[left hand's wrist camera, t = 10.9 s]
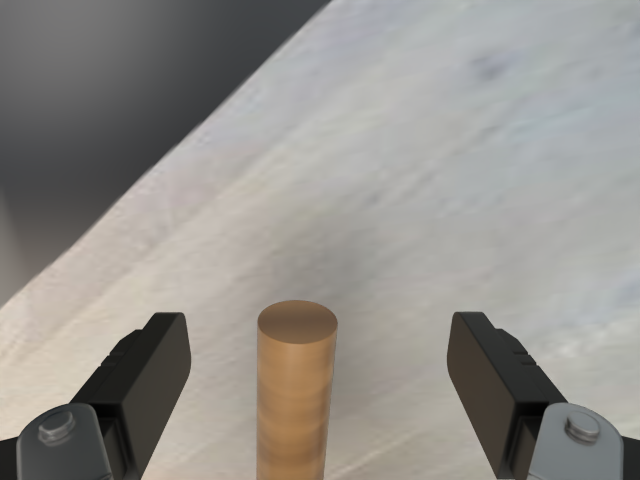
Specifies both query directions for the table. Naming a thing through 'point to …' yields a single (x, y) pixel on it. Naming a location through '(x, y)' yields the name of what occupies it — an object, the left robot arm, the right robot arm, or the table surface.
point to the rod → (294, 389)
